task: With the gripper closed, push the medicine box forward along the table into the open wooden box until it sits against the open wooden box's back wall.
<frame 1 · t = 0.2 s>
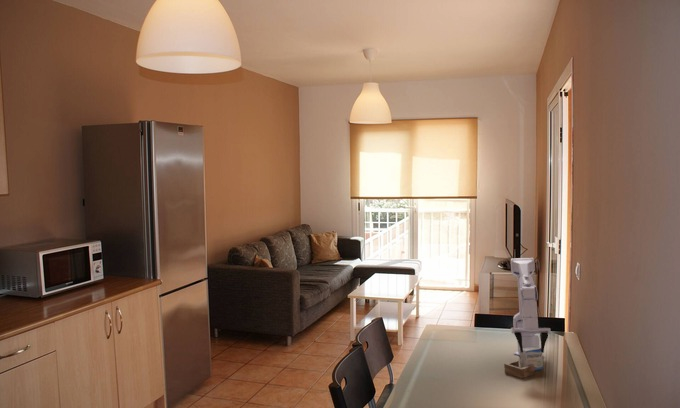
hand: (532, 352, 212), 10 cm above the table, tool pointing down, fingers open, 7 cm apart
open wooden box: (520, 372, 219), on the table
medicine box: (531, 369, 223), on the table
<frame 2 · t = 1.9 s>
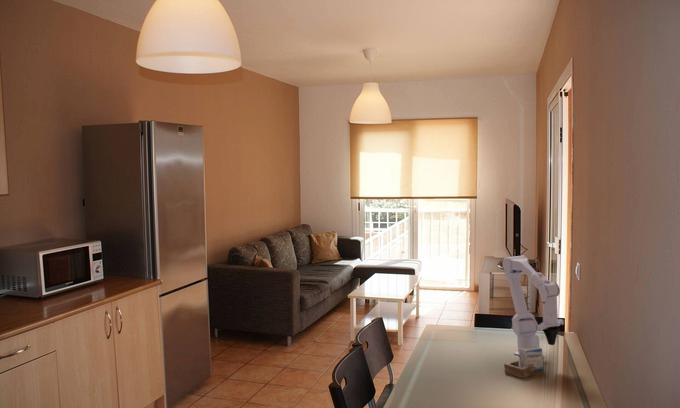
hand: (551, 344, 224), 9 cm above the table, tool pointing down, fingers closed
nothing on the table moved.
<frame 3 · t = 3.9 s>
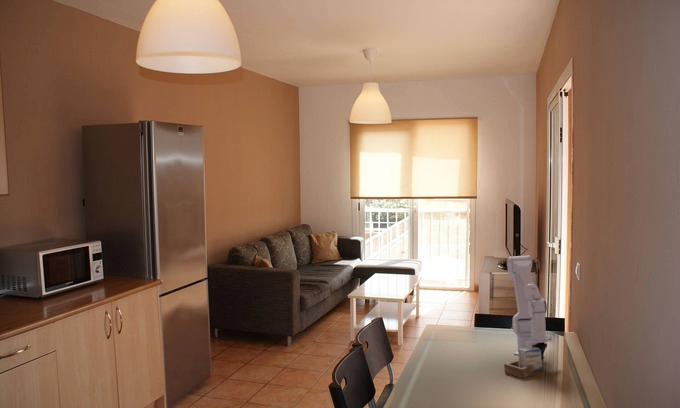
hand: (540, 360, 225), 2 cm above the table, tool pointing down, fingers closed
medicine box: (530, 369, 222), on the table, touching gripper
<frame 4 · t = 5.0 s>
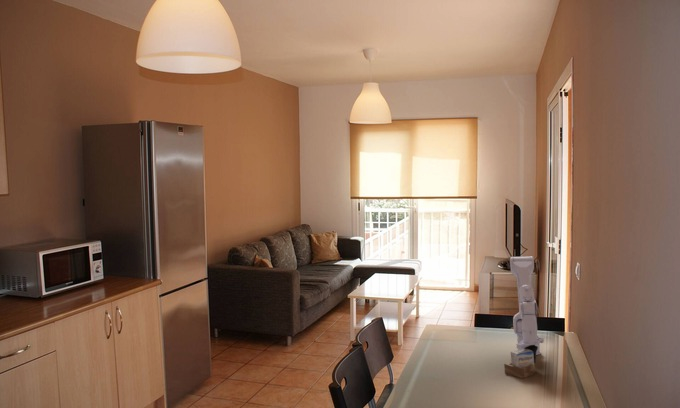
hand: (531, 363, 222), 3 cm above the table, tool pointing down, fingers closed, pressing on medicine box
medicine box: (523, 372, 220), resting in open wooden box, touching gripper
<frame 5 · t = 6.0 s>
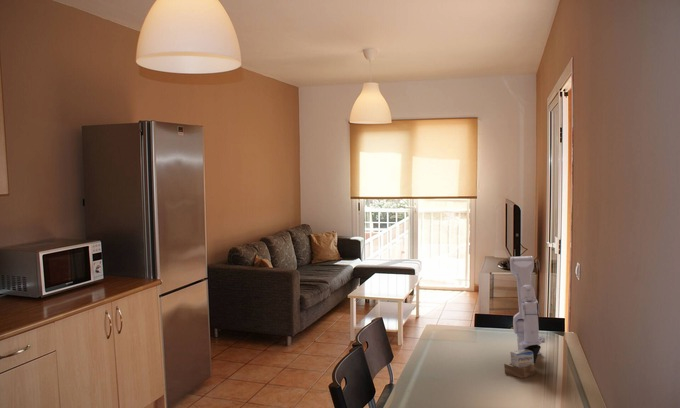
hand: (532, 362, 223), 2 cm above the table, tool pointing down, fingers closed, pressing on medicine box
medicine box: (523, 372, 220), resting in open wooden box, touching gripper
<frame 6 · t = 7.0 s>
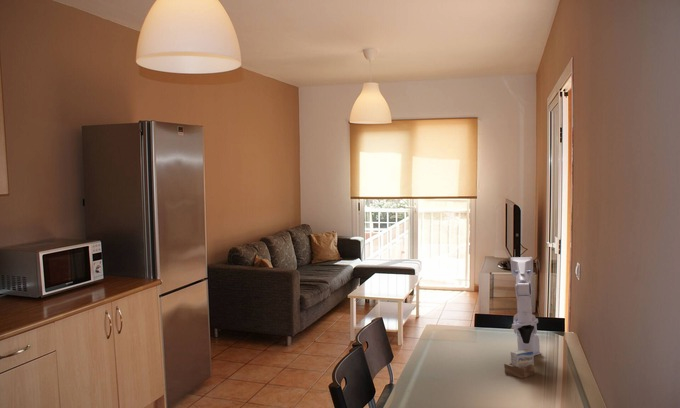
hand: (526, 342, 228), 9 cm above the table, tool pointing down, fingers closed
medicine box: (523, 372, 220), resting in open wooden box
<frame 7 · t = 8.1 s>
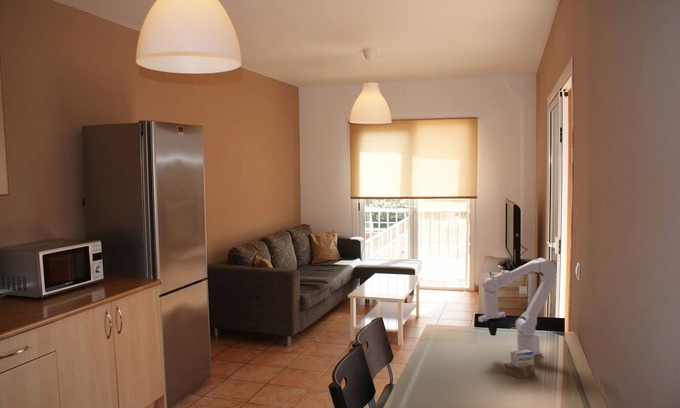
hand: (493, 335, 242), 9 cm above the table, tool pointing down, fingers closed
nothing on the table moved.
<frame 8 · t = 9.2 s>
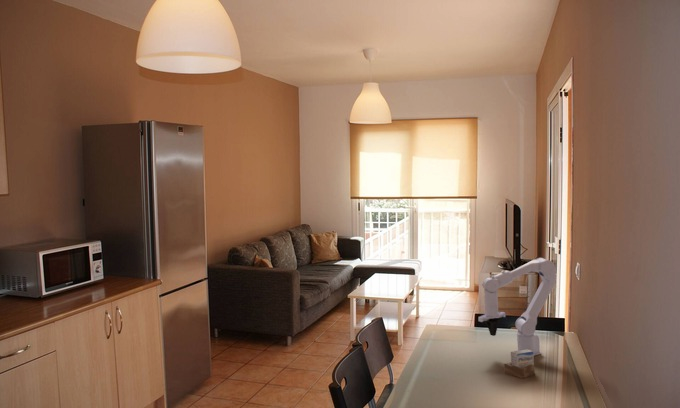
hand: (493, 335, 242), 9 cm above the table, tool pointing down, fingers closed
nothing on the table moved.
at the end: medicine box 0.2 cm from the target spot on the open wooden box, point 0.0 cm above the open wooden box's base; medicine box tilted 0°; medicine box moved 5.7 cm from its start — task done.
